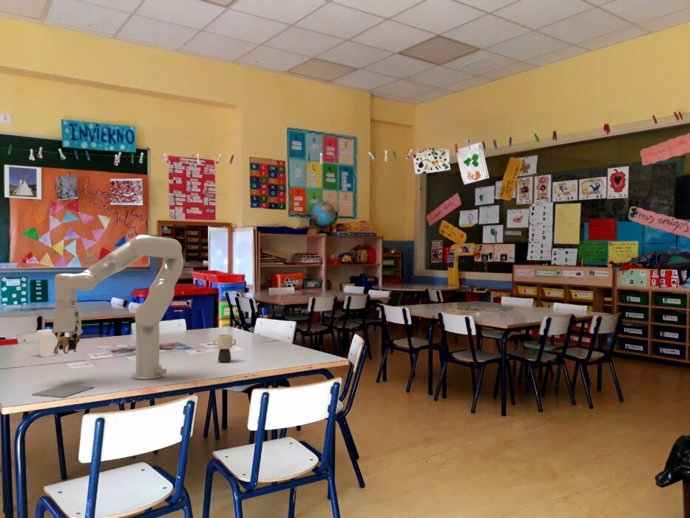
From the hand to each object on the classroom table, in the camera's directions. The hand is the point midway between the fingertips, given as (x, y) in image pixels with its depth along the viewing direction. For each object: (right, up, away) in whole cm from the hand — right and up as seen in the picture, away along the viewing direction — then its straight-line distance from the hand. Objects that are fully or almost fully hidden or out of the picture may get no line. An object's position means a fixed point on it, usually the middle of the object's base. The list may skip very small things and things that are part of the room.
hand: (67, 348), depth 227 cm
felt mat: (+5, -14, -13) cm, 20 cm away
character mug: (+53, -14, +46) cm, 72 cm away
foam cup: (-39, -13, +58) cm, 71 cm away
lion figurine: (-1, -2, 0) cm, 2 cm away
